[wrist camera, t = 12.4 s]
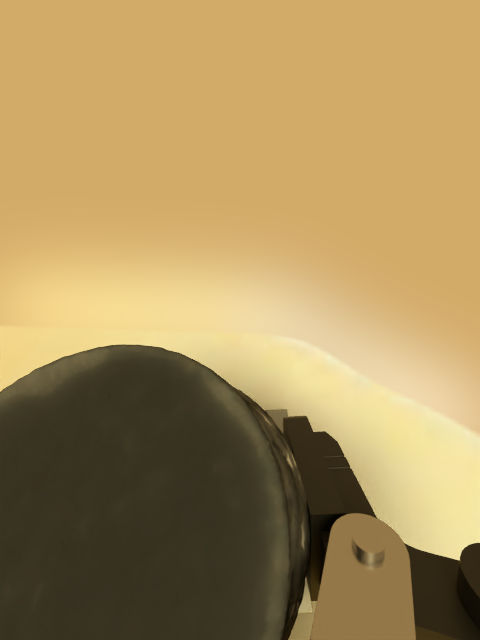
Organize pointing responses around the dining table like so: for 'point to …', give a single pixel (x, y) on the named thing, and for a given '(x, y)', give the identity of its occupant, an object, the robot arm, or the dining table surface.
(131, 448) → the pill bottle
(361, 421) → the dining table surface
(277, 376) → the dining table surface
